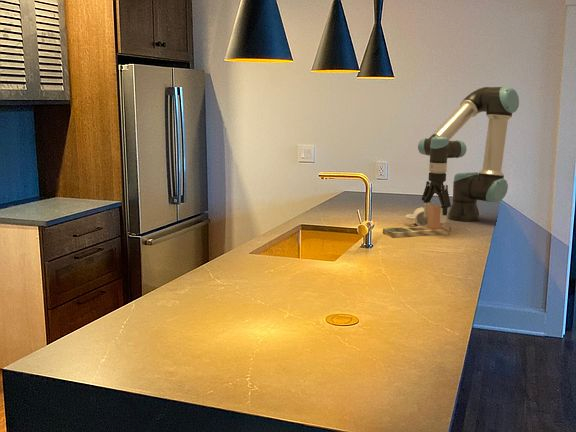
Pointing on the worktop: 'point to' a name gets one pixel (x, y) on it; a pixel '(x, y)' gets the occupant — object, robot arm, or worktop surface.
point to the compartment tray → (414, 231)
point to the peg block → (434, 217)
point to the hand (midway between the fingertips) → (434, 219)
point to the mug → (418, 217)
